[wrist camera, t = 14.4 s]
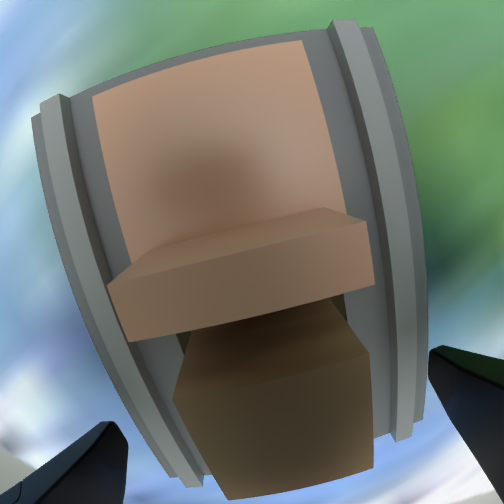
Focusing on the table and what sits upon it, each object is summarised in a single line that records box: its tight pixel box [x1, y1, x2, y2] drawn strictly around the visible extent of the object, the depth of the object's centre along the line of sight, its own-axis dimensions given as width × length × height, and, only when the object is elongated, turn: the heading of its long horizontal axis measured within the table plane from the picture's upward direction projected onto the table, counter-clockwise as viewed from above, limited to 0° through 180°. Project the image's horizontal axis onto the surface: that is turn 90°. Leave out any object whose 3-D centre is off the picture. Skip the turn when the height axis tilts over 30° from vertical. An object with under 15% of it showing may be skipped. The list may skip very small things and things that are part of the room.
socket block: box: [31, 19, 428, 487], centre depth 11 cm, size 12×16×4 cm
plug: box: [172, 298, 374, 500], centre depth 10 cm, size 4×4×7 cm
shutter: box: [92, 40, 375, 342], centre depth 7 cm, size 6×6×4 cm
